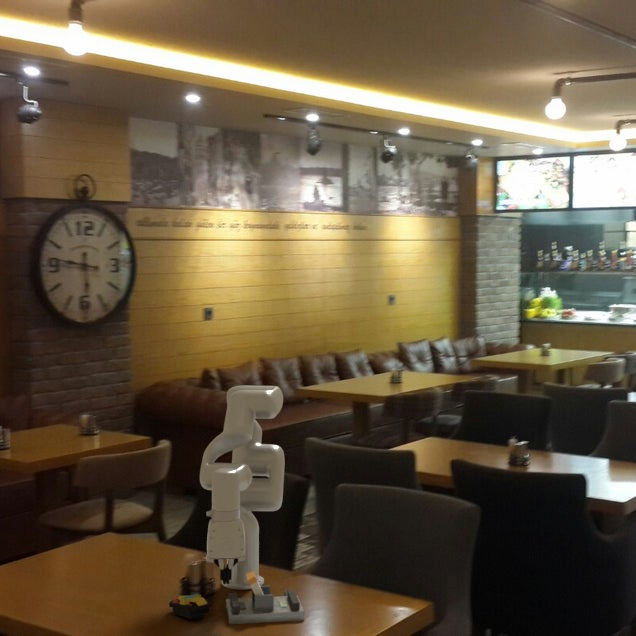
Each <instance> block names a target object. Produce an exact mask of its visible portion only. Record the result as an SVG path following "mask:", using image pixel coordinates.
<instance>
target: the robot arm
mask: <svg viewBox="0 0 636 636" xmlns="http://www.w3.org/2000/svg"><path fill="white" fill-rule="evenodd" d="M283 404H284V394H283V391H282V389H281V388H280V387H279V386H276V385H250V384H249V385H247V384H245V385H236V386H232V387H230V388H229V389H228V390H227V393H226V405H227V406H226V413H225V418H224V423H223V431H222V432H220V434H219V435H217V436H216V437H215V438H214V439H212V441H210V443H209V444H208V445H207V447H206V448H205V450H204V452H203V456H202V460H201V465H200V470H199V483H200V485H201V487H202V488H203V489H204V490H207V491H211V509H210V510H208V511H206V517H210V518H211V519H209V522H208V525H207V526H208V528H207V533H206V534H207V537H206V539H207V540H206V557H205V561H206V562H207V563H212V564H214V565H216V567H218V568H219V571H220V572H219V580H220V581H221V585H222V586H223V587H225V588H227V589H231V590H237V591H238V590H239V591H242V590H252V588H251V585H250V584H249V582H248V580H247V576H246V574H247V573H249V572H251V571H254V574H255V576H256V579H257V581H258V583H259V585H260V586H264V583H265V578H264V577H263V576H261V575H259V571H260V563H259V562H260V559H259V558H260V556H259V555H260V552H259V551H260V549H259V548H260V546H259V545H260V541H259V539H260V538H259V537H260V536H259V535H260V526H259V522H258V519H257V518H256V517H255V515H254V514H253V513H252V512H275V511H278V510H279V509H280V508H281V507H282V503H283V499H284V498H283V496H284V482H285V465H286V463H285V453H284V450H283V448H282V447H281V446H280V445H277V444H271V443H268V444H267V443H262V441H263V440H262V439H263V437H262V436H263V429H262V427H261V425H260V424H259V423H258V421H257V420H256V419H260V420H261V419H265V420H267V419H269V420H271V419H275V418H276V417H277V415H278V414H279V413H280V412H281V410H282V408H283ZM229 452H232V456H231V457H232V458H231V463H230V462H215V461H216V460H217V459H218V458H219V457H221V456H222V455H224V454H226V453H229ZM254 476H255V477H256V476H257V478H255V477H254ZM259 476H260V477H267V478H258V477H259ZM224 560H226V564H224Z"/></svg>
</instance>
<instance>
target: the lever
mask: <svg viewBox="0 0 636 636" xmlns="http://www.w3.org/2000/svg"><path fill="white" fill-rule="evenodd" d="M246 576H247V580H248V582H249V584H250V585H251V588H252V589H251V591H252V590H253V592H254V594H255V595H264V594H263V592H262V589H261V587H260V585H259V583H258V581H257V579H256V576H255V574H254V571H251V572H249V573H247V574H246Z"/></svg>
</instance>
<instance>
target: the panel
mask: <svg viewBox="0 0 636 636" xmlns="http://www.w3.org/2000/svg"><path fill="white" fill-rule="evenodd" d="M260 587H261V589H262V592H263V594H264V595H255V594H254V592H253V590H252V589H251V597H242V598H238V601H239V605H240V613H233V611H232V606H231V602H230V599H228V598H226V599H225V609H226V615H227V621H228V624H229V625H236V624H237V625H243V624H244V625H245V624H258V623H259V624H260V623H279V622H296V621H305V609H304V607H303V605H302V603H301V600H300V599H299V596H298V595H296V596H297V598H298V600H299V603H300V610H293V609H292V607H291V604H290V602H289V599H288V597H287V596H284V595H283V596H282V595H281V596H280V595H279V596H274V594H272V593H271V585H262V586H260Z"/></svg>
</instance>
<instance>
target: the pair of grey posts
mask: <svg viewBox="0 0 636 636" xmlns="http://www.w3.org/2000/svg"><path fill="white" fill-rule="evenodd" d="M237 593H238V592H229V593H228V594H227V599H230V602H231V606H232V611H233V613H240V605H239V601H238V599H239V598H238V594H237ZM283 596H287V597H288V599H289V602H290V604H291V607H292V609H293V610H300V603H299V600H300V599H299V600H298V598H299V597H298V598H297V596H298V595H296V592H295V590H294V589H287V590H283Z"/></svg>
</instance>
